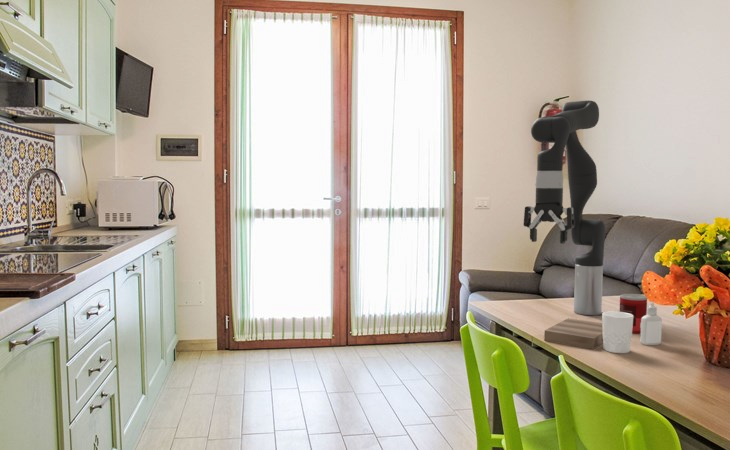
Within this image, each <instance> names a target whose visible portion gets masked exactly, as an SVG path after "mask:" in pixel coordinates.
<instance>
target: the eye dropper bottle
mask: <svg viewBox="0 0 730 450" xmlns="http://www.w3.org/2000/svg"><path fill="white" fill-rule="evenodd" d="M654 304H655V303H654V302H653V301H651V302H650V305H649V306H648V305H647V315H645V316H643V317H642V319H641V333H640V337H639V338H640V340H639V341H640V344H641V345H645V346H658V345H661V344H662V331H663V329H662V325H663V324H662V322H663V321H662V317H660V316H659V315H657V312H658V311H657V310H658V308H657V306H655V305H654Z"/></svg>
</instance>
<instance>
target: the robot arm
mask: <svg viewBox="0 0 730 450" xmlns="http://www.w3.org/2000/svg"><path fill="white" fill-rule="evenodd" d="M599 120H600V108H599V105H598V104H597V102H596V101H593V100H578V101H576V100H575V101H569V102H565V103H563V105H562V108H561V112H559V113H556V114H553V115H550V116H549V115H548V116H543V117H541V116H540V117H539V118H536V120H534V122H533V123H532V125H531V127H530V133H531V136H532V139H534V140H535V141H536V142H538V143H554V144H553V145H552V147H551V148H549V149H544V150H542V151H540V152H538V153H537V159H536V160H537V161H536V162H537V164H536V165H537V166H536V170H537V171H536V176H535V206H534V207H533V206H525V207H524V212H523V213H524V216H523V226H524V227H527V228H528V229H529V239H530V240H531V243H535V242H537V240H538V236H537V235H538V228H537V227H538V226H539V225H540V223H542V222H545V223H546V222H548V223H554V222H555V224H556V225H557V226H558V227H559V229H560V231H559V235H560V236H559V240H560V241H559V243H560V244H565V243H566V242H567V241H568V232H569V230H570V232H571V233H570V234H571V235H570V236H571V240H572V243H573V244H574V245H576V246H585V247H586V246H587V247H588V246H590V247H592V248H591V250H590V251H589V252H586V253H584V254H580V255H577V256H575V259H574V260H575V261H574V291H573V293H574V297H573V312H574V313H576V314H578V315H579V314H580V315H585V316H599V315H602V308H603V307H602V305H603V304H602V303H603V274H604V273H603V272H604V256H605V254H604V253H605V252H604V251H605V239H606V225H605V222H604V221H603V220H600V219H584V218H583V211H584V208H585V206H586V204H587V202H588V201H589V199H590V198H591V196H592V195H593V194H594V191H595V190H596V189H597V185H598V175H597V174H598V172H597V165H596V163H595V161H594V159H593V158H592V157H591V155H590V154H589V153H588V151H586V149H585V148H584V147H583V145H582V143H581V142H580V140H579V137H578V134H577V131H578V130H586V129H587V130H588V129H592V128H595V127H596V125H597V124H598V122H599ZM565 149H566V150H565ZM565 151H566V160H567V162H566V163H567V164H566V165H567V181H568V189H569V199H570V207H564V206H563V203H564V202H563V201H564V198H563V197H564V175H563V174H564V173H563V170H564V169H563V166H564V165H563V162H564V154H565ZM534 213H535V214H536V216H535V217H534V218H533V219H532V215H533V214H534ZM563 213H564V214H565V216H566V222H565V220H564V218H563V217H562V215H563Z"/></svg>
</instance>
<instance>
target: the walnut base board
mask: <svg viewBox="0 0 730 450" xmlns="http://www.w3.org/2000/svg"><path fill="white" fill-rule="evenodd" d="M543 334H544V337H543V341H545V342H550V343H551V342H552V343H556V344H563V345H568V346H574V347H580V348H584V349H592V350H594V349H597V347H598V346H600V345H603V333H602V322H598V321H589V320H584V319H583V320H582V319H577V318H576V319H575V318H569V317H568V318H566V319H564V320H561V321H560V322H558V323H556V324H554V325H553V326H551V327H549V328H546V329H545V330H544V333H543Z"/></svg>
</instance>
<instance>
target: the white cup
mask: <svg viewBox="0 0 730 450" xmlns="http://www.w3.org/2000/svg"><path fill="white" fill-rule="evenodd" d="M601 315H602V316H601V319H602V320H601V323H602V333H603V343H602V349H603V350H604V351H606V352H609V353H614V354H627V353H630V352H631V351H630V350H631V343H632V337H633V333H632V328H633V315H632V314H629V313H625V312H620V311H617V310H614V311H613V310H612V311H611V310H610V311H603V312H601Z"/></svg>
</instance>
